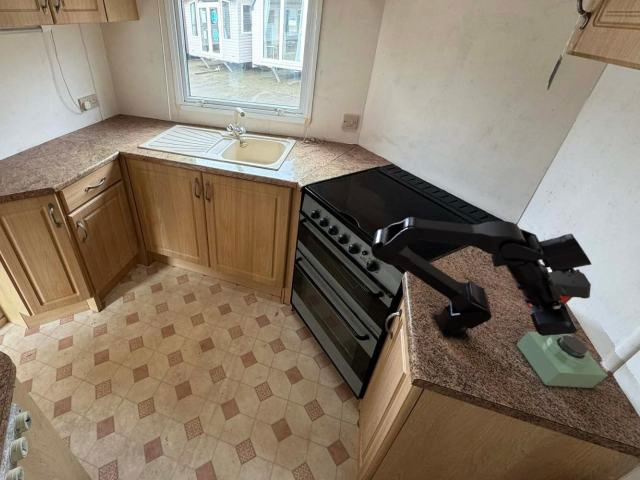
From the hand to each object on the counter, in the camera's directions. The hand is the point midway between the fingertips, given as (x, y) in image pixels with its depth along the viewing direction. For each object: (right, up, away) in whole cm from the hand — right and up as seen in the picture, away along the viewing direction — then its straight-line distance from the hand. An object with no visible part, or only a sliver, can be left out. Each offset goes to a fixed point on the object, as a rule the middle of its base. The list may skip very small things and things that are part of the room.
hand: (558, 323), depth 71 cm
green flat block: (+4, -13, +6) cm, 14 cm away
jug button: (+4, -7, +2) cm, 8 cm away
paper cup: (+14, -4, +20) cm, 25 cm away
